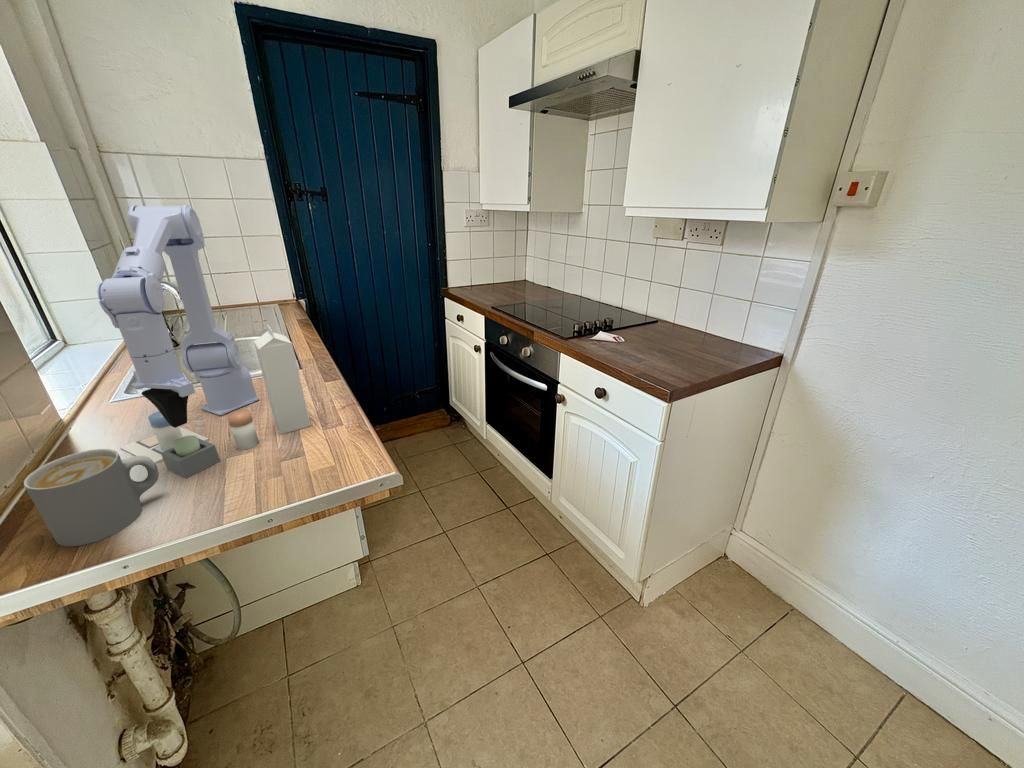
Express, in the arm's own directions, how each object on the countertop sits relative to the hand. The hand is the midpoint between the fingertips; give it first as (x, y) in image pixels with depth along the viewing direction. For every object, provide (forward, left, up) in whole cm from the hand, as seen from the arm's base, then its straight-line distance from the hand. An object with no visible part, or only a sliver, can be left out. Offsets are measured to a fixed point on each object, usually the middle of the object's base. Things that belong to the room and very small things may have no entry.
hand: (179, 424), depth 75 cm
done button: (0, 0, -7) cm, 7 cm away
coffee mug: (+13, +4, -9) cm, 17 cm away
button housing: (0, 0, -9) cm, 9 cm away
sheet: (-2, -13, -9) cm, 16 cm away
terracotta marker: (-9, +2, -9) cm, 13 cm away
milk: (-19, +3, -9) cm, 21 cm away
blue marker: (-2, -10, -8) cm, 13 cm away
